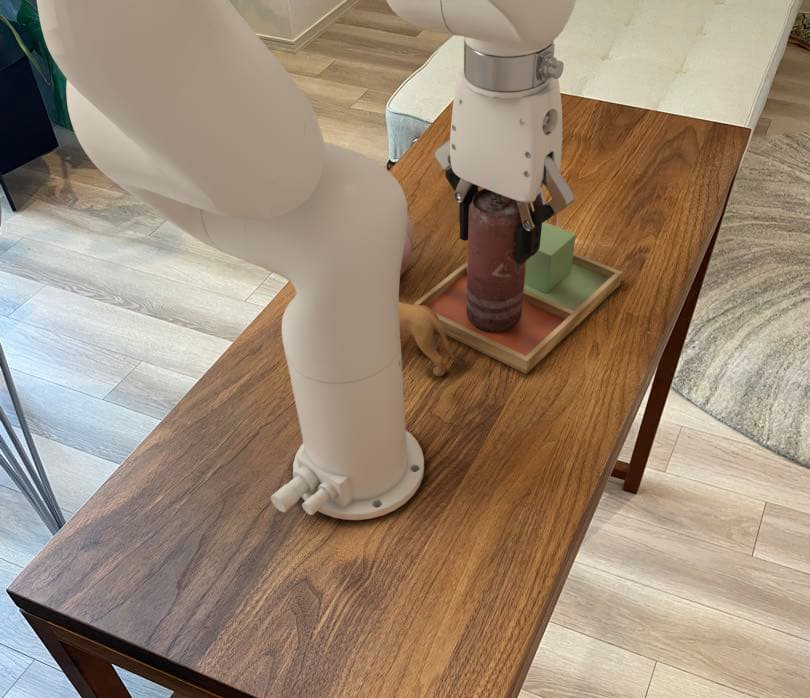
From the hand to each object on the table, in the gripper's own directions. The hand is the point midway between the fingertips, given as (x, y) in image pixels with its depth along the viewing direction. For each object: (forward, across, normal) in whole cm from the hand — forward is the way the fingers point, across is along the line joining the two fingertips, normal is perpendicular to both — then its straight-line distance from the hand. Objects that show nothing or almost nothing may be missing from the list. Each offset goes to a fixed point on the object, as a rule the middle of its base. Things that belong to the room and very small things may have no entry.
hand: (498, 244), depth 85 cm
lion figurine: (+10, +5, +11) cm, 16 cm away
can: (+9, 0, 0) cm, 9 cm away
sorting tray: (+10, 0, -4) cm, 11 cm away
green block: (+9, 0, -9) cm, 13 cm away
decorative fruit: (+10, +15, +2) cm, 18 cm away
